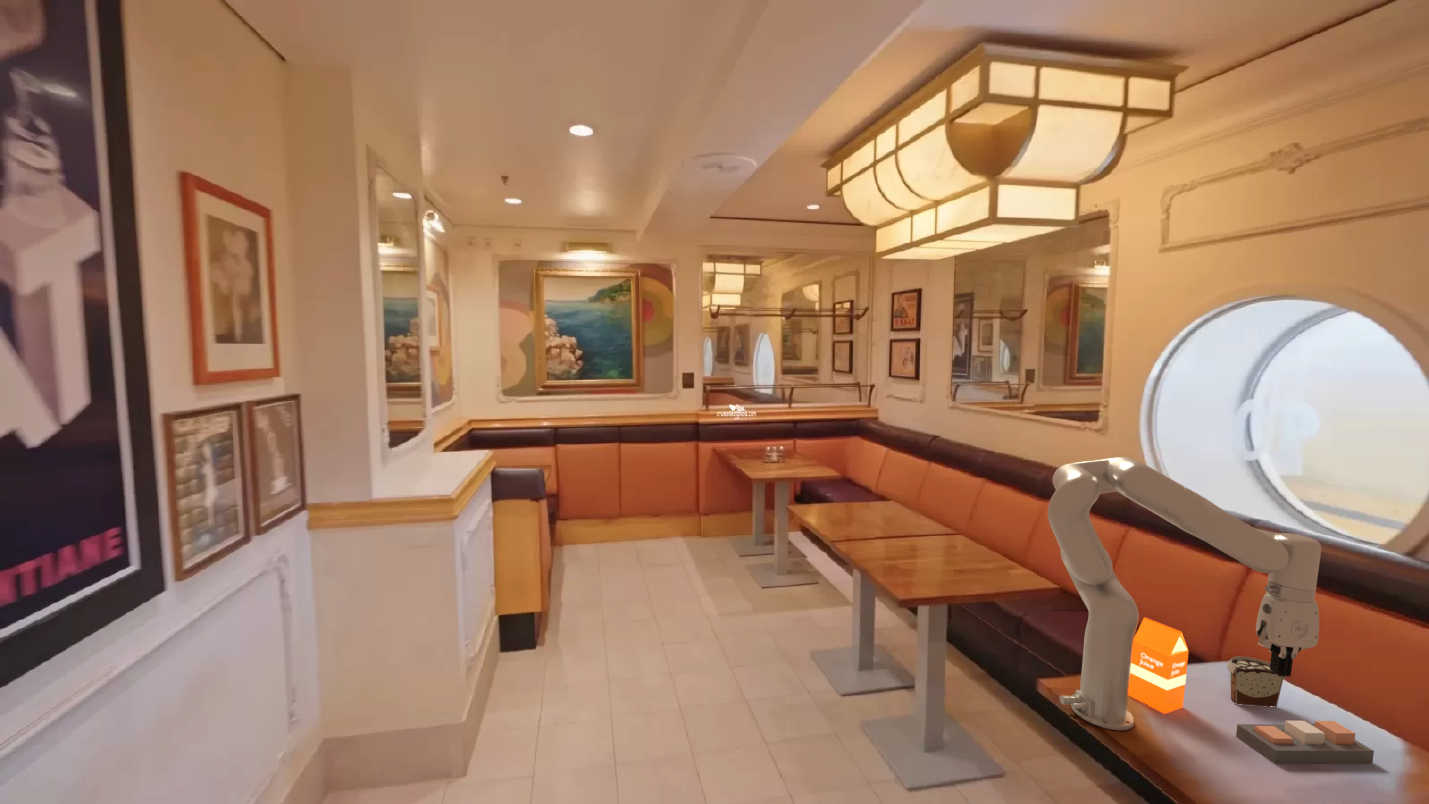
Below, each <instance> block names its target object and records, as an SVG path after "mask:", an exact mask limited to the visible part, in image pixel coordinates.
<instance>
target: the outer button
mask: <svg viewBox="0 0 1429 804" xmlns="http://www.w3.org/2000/svg"><path fill="white" fill-rule="evenodd" d="M1314 725H1315V728H1317V729H1319V730H1320V731H1322V732H1324V733H1325V736H1324V738H1325V739H1327V740H1328V741H1330V742H1332V743H1333V744H1335V745H1354V741H1355V740H1356V732H1354V731H1353V730H1350V729H1349V728H1347V727H1346V726H1344V725H1342V724H1340V723H1338V722H1336V720H1314Z"/></svg>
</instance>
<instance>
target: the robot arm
mask: <svg viewBox="0 0 1429 804" xmlns="http://www.w3.org/2000/svg"><path fill="white" fill-rule="evenodd" d="M1052 485H1053V487H1054V489H1055V490H1054V493H1053V494H1052V496H1051V497H1050V500H1049V503H1048V506H1047V519H1048V523H1049V525H1050V529H1051V530H1052V533H1053V534H1054V535H1053V536H1054V537H1055V539H1056V541H1057V544H1058V546H1059V548H1060V550H1059V551H1060V552H1059V553H1060V558H1061V560H1062V562H1063V564H1064V567H1065V568H1066V570H1067V572H1068V575H1069V576H1070V578H1071V581H1072V582H1073V584H1074V586H1075V588H1076V591H1077V592H1078V594H1079V596H1080V598H1081V599H1082V602H1083V603H1084V605H1085V607H1086V608H1087V610H1088V619H1087V623H1086V627H1085V631H1084V640H1083V652H1082V661H1081V662H1082V665H1081V672H1080V673H1081V675H1080V686H1079V689H1075V692H1074V694H1073V693H1072V695H1059V703H1060V704H1062V705H1070V707H1071V708H1072V710H1073V712H1074V713H1075V714H1076V715H1077V716H1078V717H1080V718H1081V719H1083V720H1084V721H1086V722H1088V723H1091V724H1092V725H1095V726H1098V727H1101V728H1103V729H1107V730H1111V731H1112V730H1114V731H1127V730H1129V729H1131V728H1133V727H1134V722H1135V719H1134V716H1133V715H1132V713H1131V712H1130V711H1129V710H1127V709H1128V701H1129V700H1128V698H1129V695H1128V691H1129V680H1130V670H1131V659H1132V658H1131V657H1132V648H1133V641H1134V637H1135V635H1136V633H1137V629H1138V624H1139V618H1140V617H1139V616H1140V615H1139V610H1138V609H1139V608H1138V606H1137V604H1136V601H1135V600H1134V598H1133V597H1132V596H1131V595H1130V593H1129V592H1128V590H1126V589H1125V587H1124V586H1123V585H1122V583H1121V582H1120V580H1119V578H1118V576H1117V575H1116V574H1115V571H1114V569H1113V562H1112V561H1113V560H1112V558H1111V556H1110V554H1109V552H1108V551H1107V550H1106V548H1105V547H1104V545H1103V543H1102V541H1101V540H1100V537H1099V536H1098V534H1097V532H1096V529H1095V526H1094V524H1093V523H1092V520H1091V517H1090V511H1091V508H1092V507H1093V505H1094V504H1095V503H1096V502H1097V500H1098V499H1099V497H1100V495H1102V494H1107V493H1108V494H1110V493H1116V492H1117V493H1119V494H1121V495H1122V496H1124V497H1125V498H1127V499H1129V500H1131V501H1132V502H1134V503H1136V504H1137V505H1139V506H1141V507H1143V508H1145V509H1146V510H1148V511H1150V512H1152V513H1153V514H1155V515H1157V516H1158V517H1160V518H1161V519H1163V520H1165V521H1166V522H1169V523H1170V524H1172V525H1174V526H1176V527H1177V528H1178V529H1181V530H1182V531H1184V532H1185V533H1188V534H1190V535H1192V536H1194V537H1196V538H1198V539H1199V540H1202V541H1203V542H1205V543H1207V544H1209V545H1211V546H1212V547H1214V548H1216V549H1218V550H1219V551H1221V552H1223V553H1224V554H1225V555H1226V554H1227V555H1228V556H1229V557H1231V558H1233V559H1235V560H1237V561H1238V562H1240V563H1242V564H1244V565H1245V566H1246V567H1248V568H1251V569H1252V570H1254V571H1255V572H1259V573H1262V574H1263V573H1265V574H1268V576H1267V582H1266V586H1265V587H1264V590H1265V593H1264V595H1263V597H1262V599H1261V602H1260V606H1259V610H1258V614H1257V618H1256V624H1255V633H1256V636H1257V637H1258V641H1257V645H1259V646H1260V647H1263V648H1264V649H1268V652H1269V653H1270V655H1271V656H1270V662H1269V663H1270V669H1271V670H1272V671H1274V672H1276V673H1277V674H1279V675H1281V676H1286V677H1292V672H1293V671H1292V669H1293V663H1294V659H1297V656H1298V653H1299V652H1300V651H1301V650H1302V651H1303V650H1306V649H1309V648H1313V647H1316V646H1317V645H1318V642H1319V635H1320V634H1319V633H1320V611H1319V605H1318V602H1317V601H1316V600H1315V599H1316V591H1317V584H1318V575H1319V569H1320V563H1321V561H1320V560H1321V554H1322V545H1321V543H1320V542H1319V541H1318V540H1317V539H1314V538H1313V537H1311V536H1310V537H1309V536H1306V535H1302V534H1297V533H1290V532H1289V533H1287V532H1286V533H1285V532H1280V533H1279V532H1273V531H1269V530H1268V531H1267V530H1264V529H1260V528H1255V527H1254V526H1251V525H1249V524H1248V523H1247V522H1244V521H1242V520H1241V519H1239V518H1237V517H1235V516H1233V515H1232V514H1230V513H1228V512H1227V511H1225V510H1224V509H1222V508H1221V507H1219V506H1218V505H1217V504H1215V503H1213V502H1212V501H1210V500H1209V499H1208V498H1206V497H1203V495H1201V494H1198V493H1197V492H1195V491H1194V490H1191V489H1189V488H1188V487H1186V486H1185V485H1182V484H1181V483H1179V482H1177V481H1175V480H1174V479H1172V478H1170V477H1168V476H1167V475H1165V474H1163V473H1161V472H1160V471H1157V470H1155V469H1154V468H1153V467H1150V466H1148V465H1146V463H1142V461H1141V462H1140V461H1139V460H1137V459H1135V458H1132V457H1127V456H1121V457H1111V458H1104V459H1103V458H1102V459H1095V460H1086V461H1080V462H1079V461H1078V462H1071V463H1065V464H1063V465H1061V466H1059V467H1058V468H1057V469H1056V470H1055V471H1054V473H1053V476H1052Z"/></svg>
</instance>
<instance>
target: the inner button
mask: <svg viewBox="0 0 1429 804" xmlns="http://www.w3.org/2000/svg"><path fill="white" fill-rule="evenodd" d="M1254 732H1256V733H1257V734H1259V735H1260V736H1262V737H1263V738H1265V739H1266V740H1268V741H1269V742H1271V743H1272V744H1293V738H1292V737H1290V736H1289V735H1287V734H1285V733H1284V732H1282V731H1281V730H1279V729H1278V728H1276V727H1275V726H1255V730H1254Z"/></svg>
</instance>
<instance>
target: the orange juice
mask: <svg viewBox="0 0 1429 804" xmlns="http://www.w3.org/2000/svg"><path fill="white" fill-rule="evenodd" d="M1137 629H1138V630H1136V632H1135V636H1134V641H1133V648H1132V657H1131V658H1132V659H1131V670H1130V680H1129V691H1128V697H1131V698H1133V699H1135V700H1136V701H1139V702H1141V703H1142V702H1143V703H1142V704H1144V703H1145V705H1146V704H1147V706H1148V707H1150V708H1152V709H1153V710H1154V709H1155V710H1156V711H1158V712H1160V713H1162V714H1163V715H1165V714H1168V713H1171V712H1174V711H1176V710H1180V709H1181V708H1183V707H1184V700H1185V698H1184V697H1185V690H1186V682H1187V681H1186V680H1187V668H1188V660H1189V649H1188V646H1187V643H1186V640H1185V638H1184V634H1183V632H1182V631H1181V630H1178V629H1176V628H1174V627H1170V626H1169V625H1166V624H1162V623H1160V622H1158V621H1155V620H1152V619H1150V618H1148V617H1146V616H1145V617H1143V619H1142V621H1141V623H1140V625H1139V628H1137Z"/></svg>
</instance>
